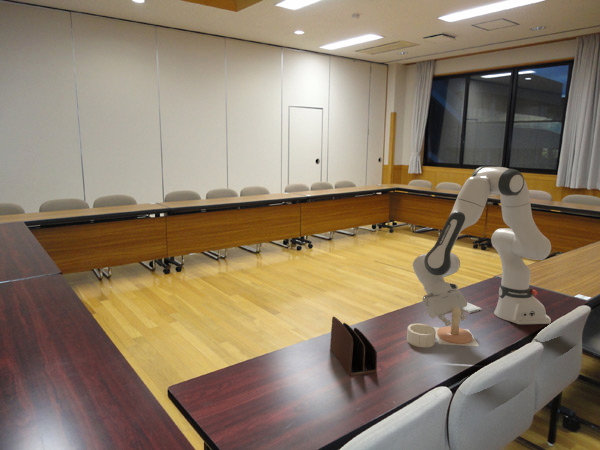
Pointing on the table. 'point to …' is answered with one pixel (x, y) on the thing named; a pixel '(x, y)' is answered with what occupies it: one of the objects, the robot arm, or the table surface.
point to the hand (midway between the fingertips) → (456, 322)
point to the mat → (440, 341)
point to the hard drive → (471, 308)
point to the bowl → (421, 335)
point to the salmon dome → (454, 330)
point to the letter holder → (352, 349)
